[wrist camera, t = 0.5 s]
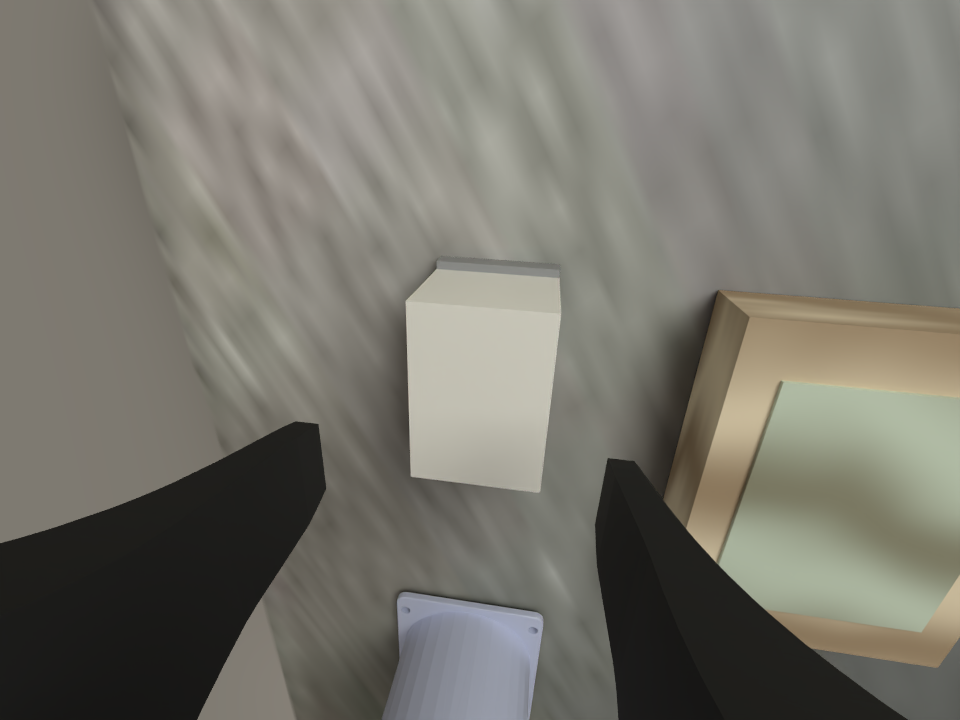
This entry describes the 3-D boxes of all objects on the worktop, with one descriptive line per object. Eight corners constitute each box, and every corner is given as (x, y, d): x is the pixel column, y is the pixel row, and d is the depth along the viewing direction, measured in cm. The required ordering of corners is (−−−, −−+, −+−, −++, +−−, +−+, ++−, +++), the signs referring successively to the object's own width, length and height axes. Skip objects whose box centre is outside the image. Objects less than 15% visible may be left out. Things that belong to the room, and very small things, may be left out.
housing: (542, 422, 20) (539, 499, 16) (441, 411, 21) (411, 483, 16) (559, 263, 17) (562, 303, 13) (442, 255, 18) (405, 290, 13)
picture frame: (889, 602, 22) (940, 671, 19) (645, 567, 23) (658, 627, 20) (1060, 316, 16) (1171, 353, 13) (718, 290, 17) (751, 318, 14)
